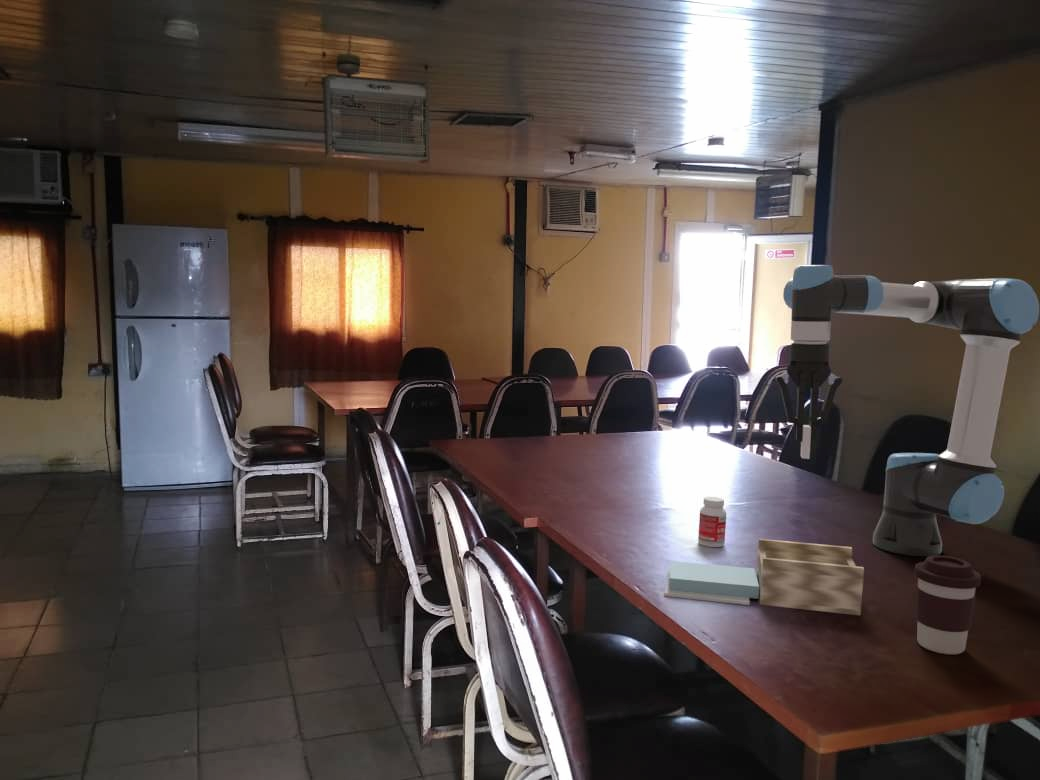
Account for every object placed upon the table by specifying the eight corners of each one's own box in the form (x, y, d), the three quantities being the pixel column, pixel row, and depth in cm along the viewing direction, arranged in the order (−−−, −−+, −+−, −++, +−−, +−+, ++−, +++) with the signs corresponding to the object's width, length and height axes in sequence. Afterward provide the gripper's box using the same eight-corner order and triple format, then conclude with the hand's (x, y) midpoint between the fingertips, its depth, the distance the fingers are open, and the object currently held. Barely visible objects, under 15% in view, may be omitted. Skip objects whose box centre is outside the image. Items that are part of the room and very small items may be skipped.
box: (848, 590, 167) (851, 547, 166) (860, 615, 153) (864, 568, 152) (756, 580, 171) (758, 538, 170) (760, 604, 157) (763, 558, 156)
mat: (745, 578, 172) (745, 575, 172) (749, 605, 156) (749, 602, 156) (668, 570, 176) (668, 567, 175) (664, 595, 160) (664, 593, 160)
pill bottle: (720, 549, 192) (723, 503, 190) (694, 545, 195) (697, 499, 193) (727, 543, 197) (730, 498, 196) (702, 539, 200) (705, 494, 199)
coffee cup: (952, 635, 145) (960, 552, 144) (986, 659, 135) (995, 571, 134) (897, 634, 145) (904, 551, 143) (927, 658, 135) (935, 570, 133)
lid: (753, 579, 169) (754, 568, 169) (758, 598, 158) (759, 586, 158) (669, 571, 173) (670, 560, 172) (668, 590, 162) (669, 578, 161)
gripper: (841, 341, 168) (835, 455, 171) (774, 340, 171) (770, 452, 174) (847, 343, 161) (841, 462, 164) (777, 343, 163) (773, 459, 166)
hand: (805, 457), depth 169 cm, fingers closed
